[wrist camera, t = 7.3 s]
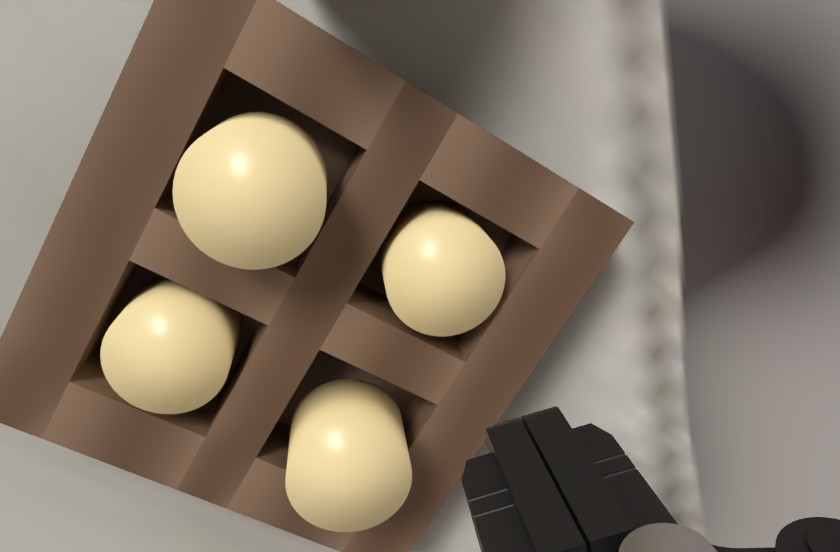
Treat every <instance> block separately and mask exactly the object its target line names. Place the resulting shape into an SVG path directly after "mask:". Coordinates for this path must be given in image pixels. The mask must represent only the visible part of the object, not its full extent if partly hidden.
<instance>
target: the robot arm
mask: <svg viewBox="0 0 840 552" xmlns="http://www.w3.org/2000/svg"><path fill="white" fill-rule="evenodd" d="M484 431H485V436H486V440H487V444H488V448H489V452H490V453H489V454H486V455H482V456H479V457H476V458H472V459H469V460H467V461H466V465H465V468H464V472H463V476H462V483H463V487H464V491H465V494H466V498H467V502H468V505H469V509H470V513H471V516H472V520H473V524H474V527H475V531H476V534H477V538H478V542H479V545H480V548H481V551H482V552H840V520H838V519H833V518H826V517H825V518H824V517H811V518H804V519H799V520H797V521H794V522H792V523H790V524H788V525H786V526H785V527H784V528H783V529H782V530H781V531H780V532H779V534H778V536H777V539H776V545H775V548H726V547H719V546H715V545H711V544H710V543H709V542H708V541H707V540H706V539H705V538H704V537H703V536H702V535H700V534H699V533H697V532H696V531H694V530H692V529H690V528H688V527H685V526H682V525H678V524H677V523H676V521H675V520H674V519H673V517H672V516H671V515H670V513H669V512H668V510H667V509H666V508H665V506H664V505H663V504H662V502H661V501H660V500H659V498H658V497H657V496H656V494H655V493H654V491H653V490H652V489H651V487H650V486H649V485H648V483H647V482H646V481H645V479H644V478H643V477H642V475H641V474H640V473H639V471H638V470H636V469H635V466H634V464H633V463H632V462H631V460H630V459H629V458H628V456H626V455H625V453H624V451H623V450H622V448H621V447H620V445H619V444H618V443H617V441H616V440H615V439H614V437H613V436H612V435H611V434H609V433H607V432H605V431H604V430H602V429H600V428H598V427H597V426H595V425H593V424H591V423H590V424H587V425H583V426H580V427H576V428H573V429H572V428H571V426H570V425H569V423H568V422H567V420H566V419H565V417H564V416H563V414H562V413H561V411H560V409H559V408H558V407H557V406H556V407H552V408H549V409H545V410H542V411H539V412H535V413H532V414H528V415H525V416H522V417H521V419H520V418H515V419H512V420H508V421H505V422H502V423H498V424H495V425H491V426H488V427H485V428H484Z"/></svg>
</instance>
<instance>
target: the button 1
mask: <svg viewBox="0 0 840 552" xmlns="http://www.w3.org/2000/svg"><path fill="white" fill-rule="evenodd" d="M241 328H242V321H241V315H240V312H238V311H236V310H234V309H232V308H230V307H228V306H225V305H223V304H221V303H219V302H217V301H215V300H213V299H210V298H208V297H206V296H204V295H202V294H200V293H198V292H196V291H193V290H191V289H189V288H187V287H185V286H183V285H181V284H178V283H176V282H174V281H172V280H170V279H168V278H166V277H164V276H161V275H160V276H157V277H155V278H153V279H151V280H150V281H148V282H147V283H145V284H144V285H143V286H142V287H141V288H140V289H139V290H138V292H137V293H136V294H135V295H134V297H133V298H132V299H131V300H130V302H129V303H128V304H127V305H126V307H125V308H124V309H123V310H122V312H121V313H120V314H119V315H118V317H117V318H116V319H115V320H114V322H113V323H112V324H111V325H110V327H109V328H108V330H107V332H106V333H105V336H104V338H103V340H102V345H101V351H100V359H101V366H102V370H103V372H104V375H105V377H106V379H107V381H108V383H109V384H110V386H111V387H112V388H113V390H114V391H115V392H116V393H117V394H118V395H119V396H120V397H122V398H123V399H124V400H125V401H127V402H128V403H130V404H132V405H133V406H136V407H138V408H140V409H143V410H145V411H148V412H153V413H158V414H179V413H184V412H189V411H192V410H194V409H197V408H199V407H201V406H203V405H205V404H206V403H208V402H209V401H210V400H211V399H213V398H214V397H215V396H216V395H217V394H218V392H219V391H220V390H221V388H222V387H223V385H224V383H225V381H226V379H227V376H228V373H229V370H230V366H231V363H232V360H233V357H234V354H235V351H236V348H237V344H238V341H239V338H240V334H241Z"/></svg>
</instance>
